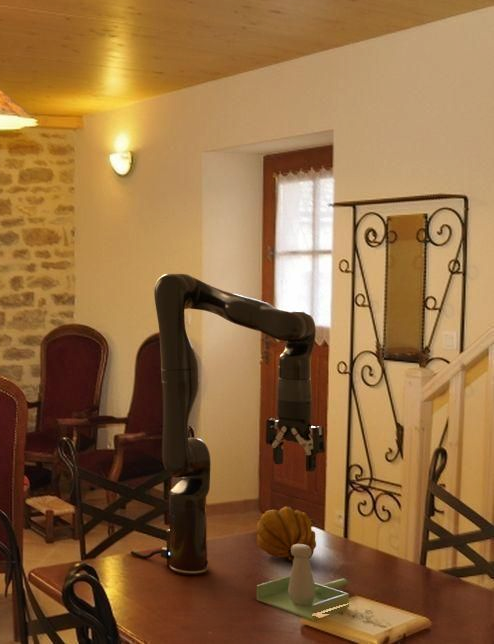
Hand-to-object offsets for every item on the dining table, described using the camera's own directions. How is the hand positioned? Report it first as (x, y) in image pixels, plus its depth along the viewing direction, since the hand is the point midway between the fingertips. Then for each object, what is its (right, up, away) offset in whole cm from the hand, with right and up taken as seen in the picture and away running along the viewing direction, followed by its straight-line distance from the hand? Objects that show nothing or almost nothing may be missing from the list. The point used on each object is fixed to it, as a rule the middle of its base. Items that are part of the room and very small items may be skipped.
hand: (294, 467), depth 206 cm
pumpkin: (+10, -30, +28) cm, 42 cm away
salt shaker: (0, -30, -5) cm, 30 cm away
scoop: (+4, -30, -2) cm, 30 cm away
